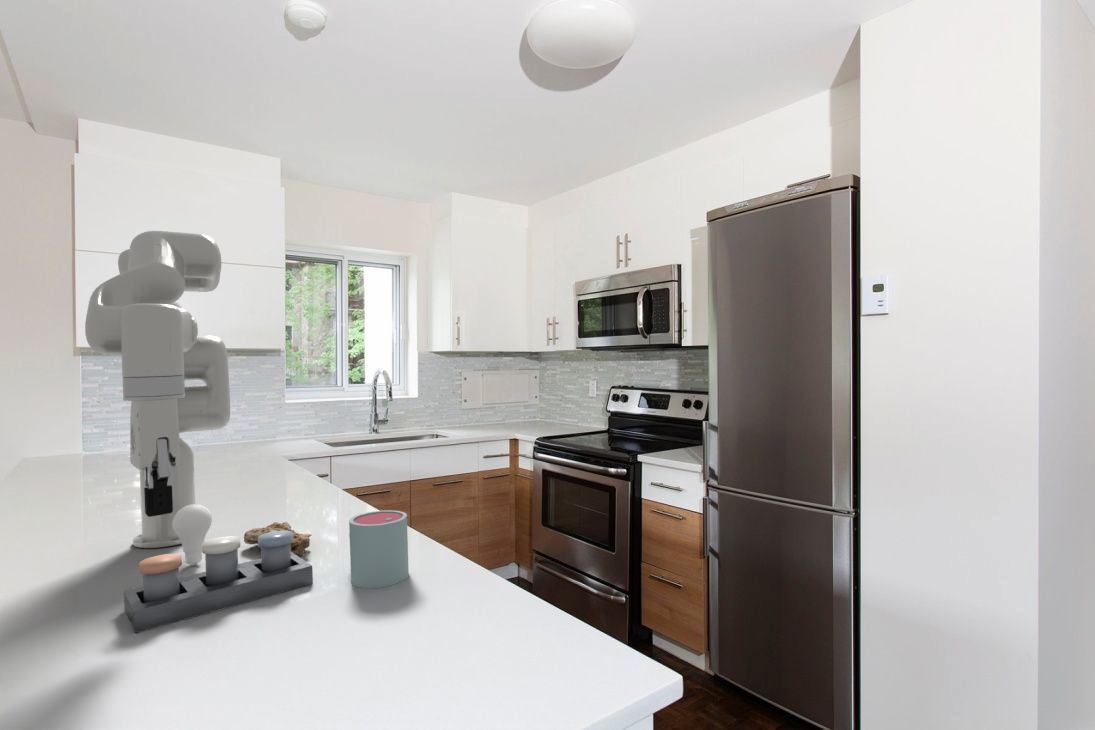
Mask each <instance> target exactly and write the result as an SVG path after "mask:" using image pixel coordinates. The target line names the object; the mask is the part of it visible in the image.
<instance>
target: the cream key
mask: <svg viewBox="0 0 1095 730" xmlns="http://www.w3.org/2000/svg"><path fill="white" fill-rule="evenodd" d="M239 548H241V537H240V536H237V535H226V536H218V537H213V538H210V539H207V540H204V542H203V543H202V554H203V555H204V557H205V558H204V559H205V560H204V561H205V572H206V584H207V585H208V586H215V585H219V584H223V583H227V582H231V581H235V580H238V578H239V576H238V564H239V553H238V552H239V550H238V549H239Z"/></svg>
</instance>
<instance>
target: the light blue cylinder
mask: <svg viewBox="0 0 1095 730" xmlns="http://www.w3.org/2000/svg"><path fill="white" fill-rule="evenodd" d="M292 541H293V533H292V532H291V531H274V532H269V533H265V534H262V535H260V536H259V537H258V544H257V545H258V547H261V549H260V556H261V557H260V559H261V564H262V572H263V573H267V572H271V571H275V570H279V569H283V568H287V567H291V548H290V543H291V542H292Z"/></svg>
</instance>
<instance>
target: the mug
mask: <svg viewBox="0 0 1095 730" xmlns="http://www.w3.org/2000/svg"><path fill="white" fill-rule="evenodd" d="M348 524H349V525H348V526H349V528H348V529H349V535H348V536H349V552H350V555H349V558H350V561H349V562H350V582H351V584H352V586H355V587H357V588H362V589H378V588H384V587H390V586H393V585H397V584H399V583H401V582H403V581H406V579H407V578H408V577H409V546H408V545H409V544H408V543H409V541H408V540H409V539H408V538H409V537H408V514H407V513H406V512H405V511H400V510H394V509H393V510H392V509H391V510H388V509H387V510H385V509H384V510H375V511H368V512H364V513H360V514H357V515H354V516H352V517H350V518H349V522H348Z"/></svg>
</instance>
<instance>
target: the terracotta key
mask: <svg viewBox="0 0 1095 730" xmlns="http://www.w3.org/2000/svg"><path fill="white" fill-rule="evenodd" d="M182 560H183V559H182V554H181V553H180V554H179V553H165V554H159V555H155V556H149V557H147V558H145V559H143V560H141V561H140V562H139V564H138V567H139V569H138V570H139V571H138V572H139V574H142V585H143V590H144V603H147V602H151V601H155V600H159V599H163V598H167V597H171V596H175V595H179V594H180V587H179V578H180V567H181V566H182V565H183V561H182Z"/></svg>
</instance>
